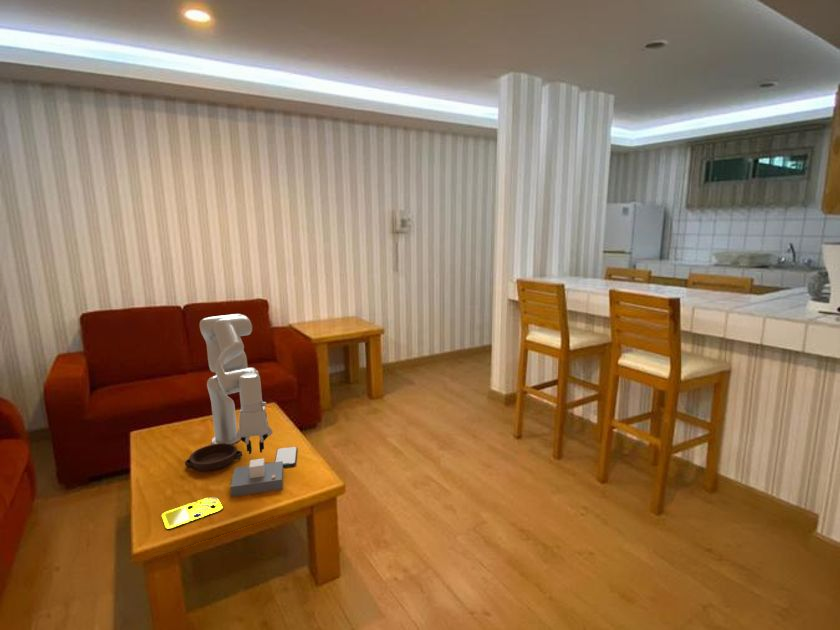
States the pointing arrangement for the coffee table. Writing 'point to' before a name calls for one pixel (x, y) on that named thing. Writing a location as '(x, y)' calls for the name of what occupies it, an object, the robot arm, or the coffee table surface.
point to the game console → (191, 512)
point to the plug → (257, 468)
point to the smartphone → (287, 456)
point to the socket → (257, 480)
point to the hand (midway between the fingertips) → (255, 451)
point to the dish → (213, 457)
